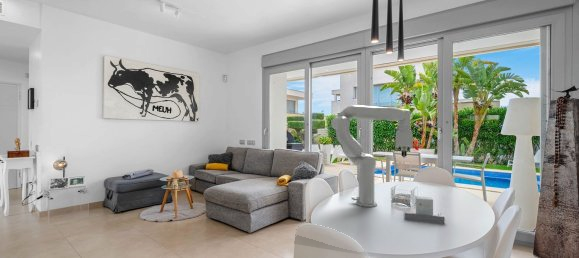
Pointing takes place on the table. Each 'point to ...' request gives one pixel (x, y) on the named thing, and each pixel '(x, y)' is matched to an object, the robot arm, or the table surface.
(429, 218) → the charging dock
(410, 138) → the robot arm
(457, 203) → the table surface
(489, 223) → the table surface
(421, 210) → the small box
